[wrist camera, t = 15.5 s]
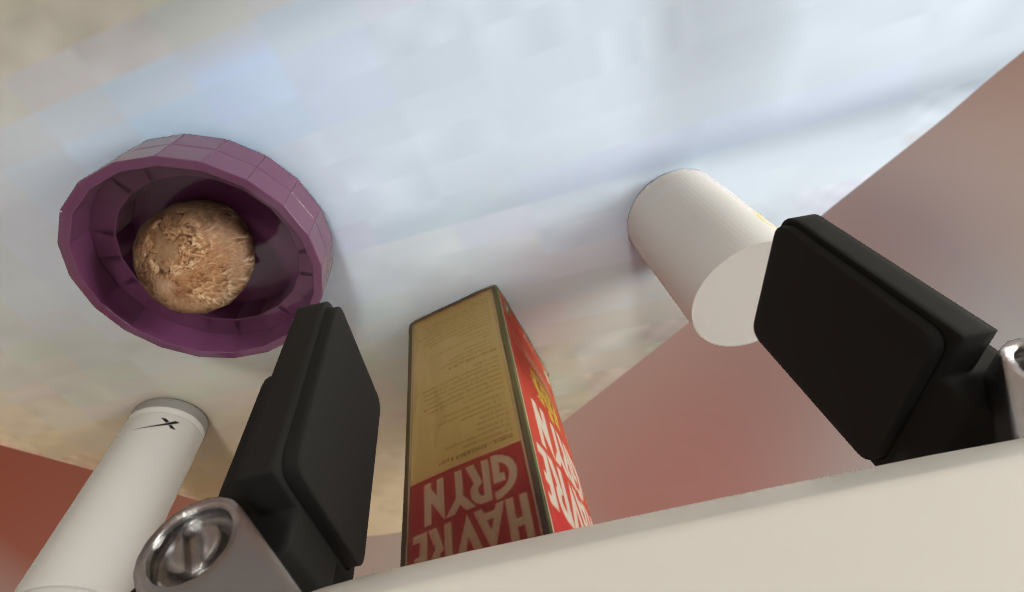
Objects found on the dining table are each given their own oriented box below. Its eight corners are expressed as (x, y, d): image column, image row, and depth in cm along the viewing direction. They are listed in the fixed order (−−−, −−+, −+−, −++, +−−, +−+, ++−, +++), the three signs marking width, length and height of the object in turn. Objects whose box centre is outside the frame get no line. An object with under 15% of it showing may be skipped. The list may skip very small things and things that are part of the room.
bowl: (51, 152, 31) (-7, 181, 27) (288, 114, 31) (267, 137, 27) (176, 332, 39) (147, 374, 35) (358, 299, 40) (351, 337, 36)
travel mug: (173, 385, 43) (16, 645, 26) (224, 428, 46) (114, 678, 30) (113, 408, 43) (-78, 678, 27) (168, 449, 47) (30, 706, 31)
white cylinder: (716, 247, 42) (802, 331, 33) (628, 266, 42) (688, 357, 33) (726, 159, 38) (829, 227, 28) (626, 180, 38) (695, 257, 28)
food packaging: (553, 375, 49) (643, 668, 28) (471, 410, 50) (502, 716, 30) (498, 280, 41) (567, 588, 21) (403, 324, 42) (381, 656, 22)
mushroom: (274, 321, 36) (208, 329, 29) (182, 299, 37) (100, 303, 31) (292, 215, 35) (228, 202, 29) (198, 197, 36) (118, 180, 30)
